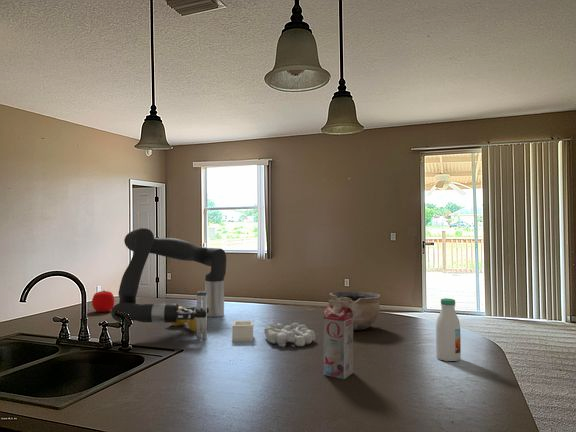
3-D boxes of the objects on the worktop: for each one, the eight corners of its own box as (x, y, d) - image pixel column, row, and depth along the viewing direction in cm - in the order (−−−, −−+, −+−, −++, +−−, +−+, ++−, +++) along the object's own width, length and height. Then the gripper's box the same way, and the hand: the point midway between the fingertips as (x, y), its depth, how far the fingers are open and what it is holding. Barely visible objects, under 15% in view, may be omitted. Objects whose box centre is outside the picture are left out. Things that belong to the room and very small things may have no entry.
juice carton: (344, 379, 125) (344, 303, 125) (323, 375, 129) (323, 301, 129) (353, 372, 131) (353, 300, 131) (333, 368, 134) (333, 298, 135)
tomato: (109, 313, 216) (109, 292, 216) (88, 313, 216) (88, 292, 216) (117, 309, 227) (118, 289, 227) (98, 309, 227) (98, 288, 227)
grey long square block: (197, 336, 172) (198, 291, 172) (206, 336, 172) (207, 291, 172) (196, 339, 168) (196, 292, 169) (205, 339, 169) (205, 292, 169)
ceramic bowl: (322, 331, 181) (322, 295, 181) (336, 320, 201) (336, 288, 202) (375, 336, 173) (375, 299, 173) (384, 324, 193) (384, 291, 193)
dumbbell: (208, 329, 184) (208, 310, 184) (191, 333, 177) (191, 313, 178) (183, 322, 197) (184, 304, 197) (166, 326, 190) (166, 307, 191)
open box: (233, 335, 173) (233, 321, 173) (253, 335, 174) (253, 320, 174) (232, 341, 165) (232, 325, 165) (252, 341, 166) (253, 325, 166)
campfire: (249, 340, 167) (250, 325, 167) (286, 331, 183) (287, 317, 183) (291, 353, 152) (291, 336, 152) (327, 341, 168) (328, 326, 168)
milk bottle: (449, 363, 139) (448, 302, 140) (431, 357, 146) (430, 298, 146) (465, 360, 143) (465, 300, 143) (447, 354, 150) (447, 296, 150)
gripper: (161, 307, 162) (205, 306, 163) (169, 300, 177) (209, 299, 178) (161, 326, 162) (205, 326, 163) (169, 318, 177) (209, 318, 178)
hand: (207, 312), depth 171 cm, fingers open, 7 cm apart
